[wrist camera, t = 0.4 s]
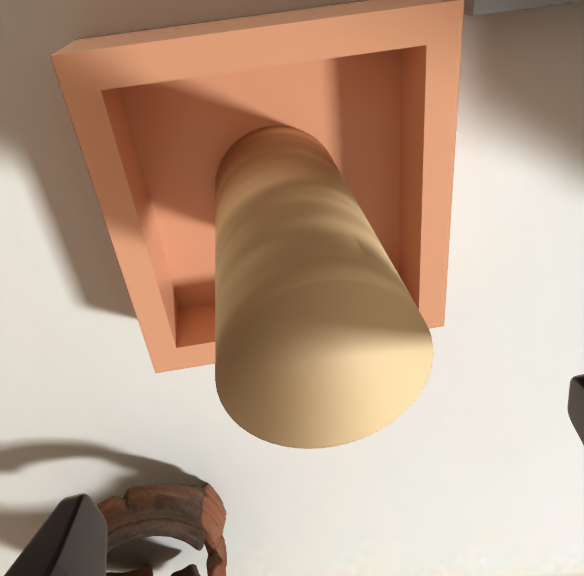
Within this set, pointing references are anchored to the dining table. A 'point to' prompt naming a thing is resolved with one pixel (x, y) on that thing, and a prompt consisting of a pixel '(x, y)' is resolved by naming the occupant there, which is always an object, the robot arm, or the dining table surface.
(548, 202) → the dining table surface
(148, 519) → the dark brown vr controller
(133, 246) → the terracotta dish
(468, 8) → the charcoal tray
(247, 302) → the maple peg
